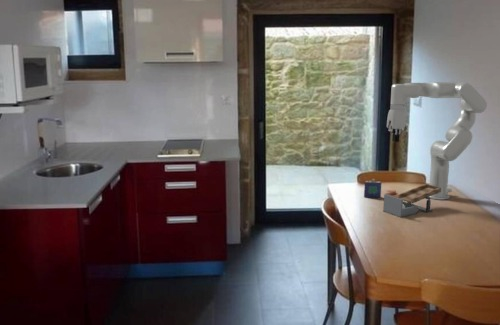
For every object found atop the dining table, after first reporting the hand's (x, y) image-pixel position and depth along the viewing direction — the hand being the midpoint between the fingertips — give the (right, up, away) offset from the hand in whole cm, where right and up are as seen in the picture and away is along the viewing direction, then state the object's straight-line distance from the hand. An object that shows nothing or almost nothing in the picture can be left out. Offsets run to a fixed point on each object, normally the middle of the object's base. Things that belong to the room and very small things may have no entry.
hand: (395, 141), depth 282 cm
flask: (-10, -31, +10) cm, 34 cm away
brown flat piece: (+7, -28, -9) cm, 31 cm away
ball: (-2, -34, -18) cm, 39 cm away
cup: (-3, -37, -18) cm, 41 cm away
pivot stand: (+9, -35, -11) cm, 38 cm away
